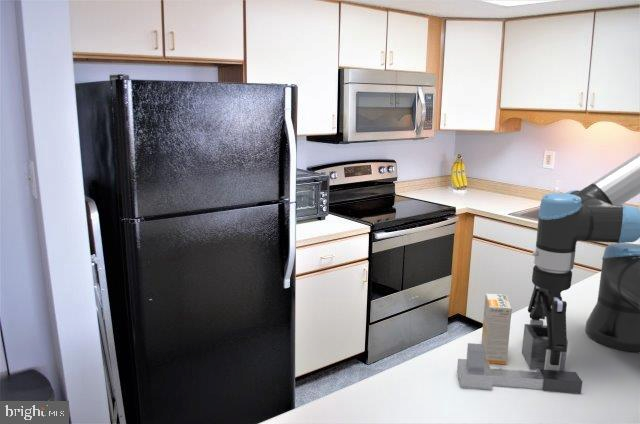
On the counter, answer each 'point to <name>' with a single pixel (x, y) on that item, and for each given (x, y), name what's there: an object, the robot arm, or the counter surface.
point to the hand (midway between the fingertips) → (541, 361)
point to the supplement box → (496, 328)
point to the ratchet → (511, 375)
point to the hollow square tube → (537, 347)
